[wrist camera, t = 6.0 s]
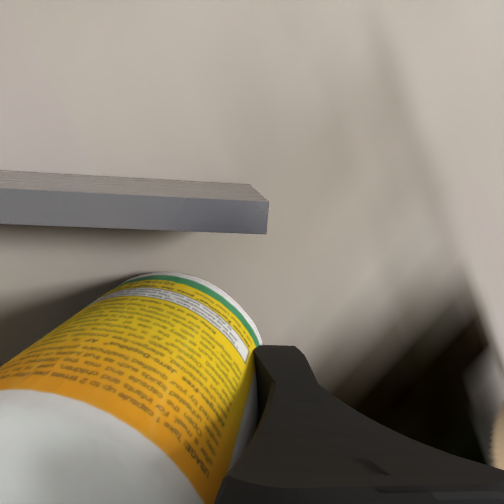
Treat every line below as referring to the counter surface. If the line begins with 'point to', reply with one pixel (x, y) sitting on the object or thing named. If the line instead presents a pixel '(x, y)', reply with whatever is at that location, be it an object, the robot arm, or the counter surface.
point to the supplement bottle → (132, 399)
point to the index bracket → (130, 203)
